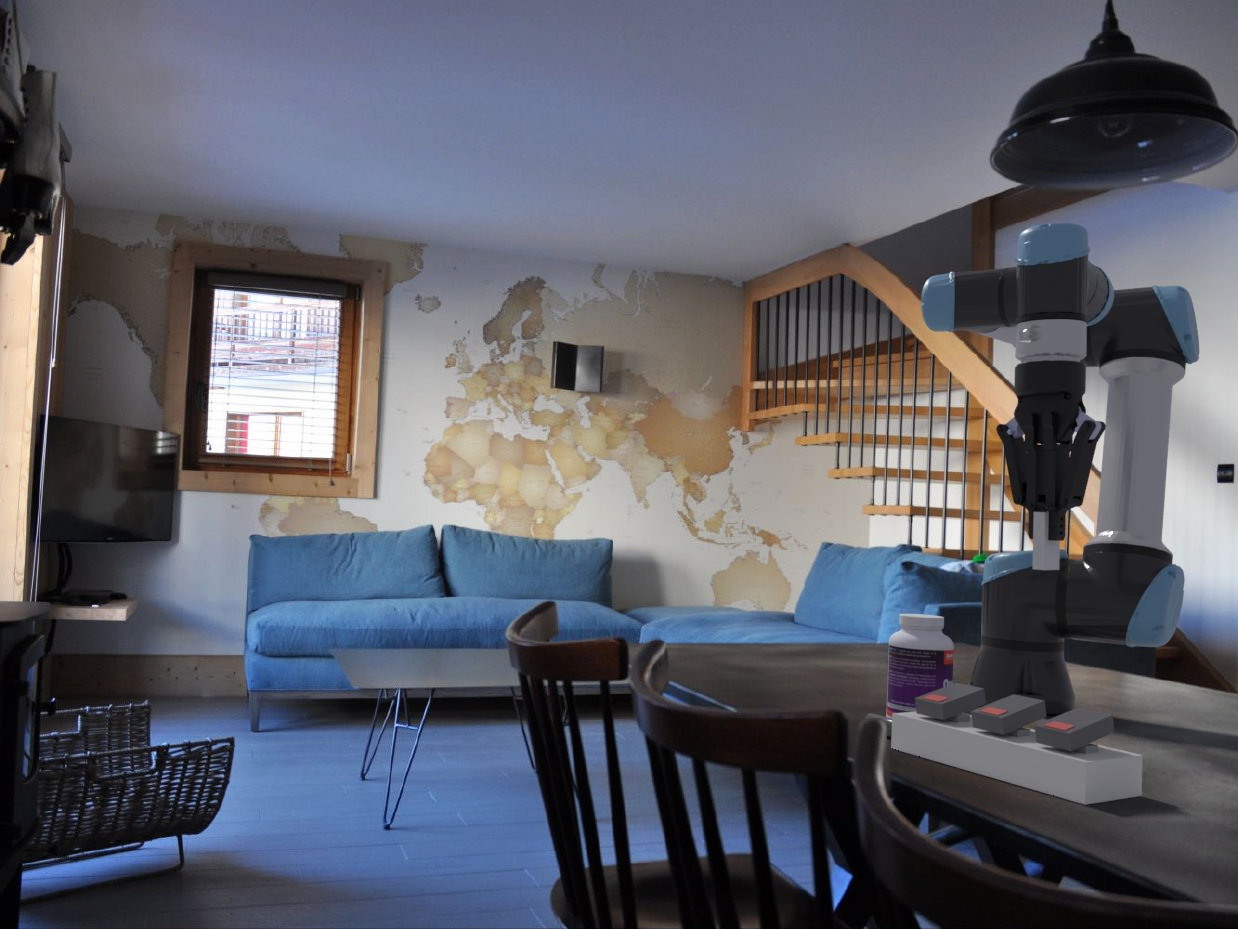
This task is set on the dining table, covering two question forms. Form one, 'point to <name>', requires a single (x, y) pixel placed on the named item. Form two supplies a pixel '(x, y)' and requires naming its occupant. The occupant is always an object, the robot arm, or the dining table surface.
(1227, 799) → the dining table surface
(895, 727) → the power strip
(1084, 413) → the robot arm
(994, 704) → the rocker
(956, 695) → the rocker
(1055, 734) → the rocker
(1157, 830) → the dining table surface
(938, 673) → the pill bottle
